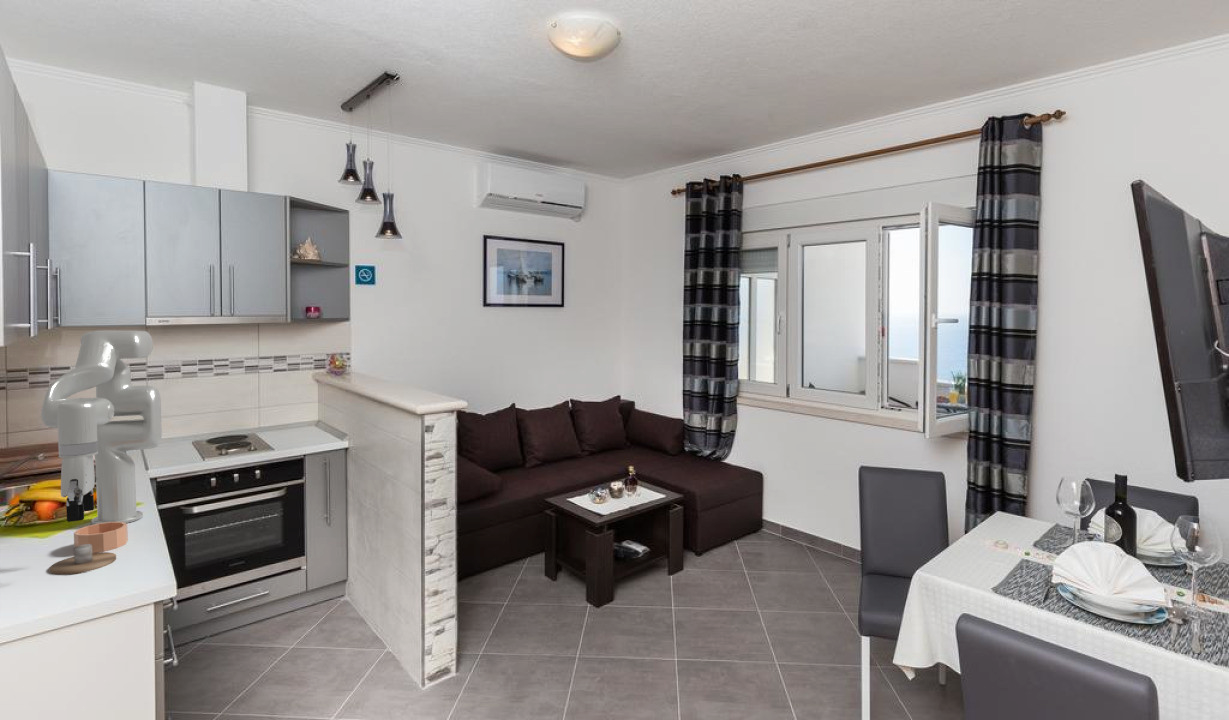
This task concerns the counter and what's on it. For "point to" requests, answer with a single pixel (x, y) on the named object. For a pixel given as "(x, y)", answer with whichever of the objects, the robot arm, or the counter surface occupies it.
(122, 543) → the bowl
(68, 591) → the counter surface
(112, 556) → the lid
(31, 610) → the counter surface
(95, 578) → the counter surface
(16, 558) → the counter surface
